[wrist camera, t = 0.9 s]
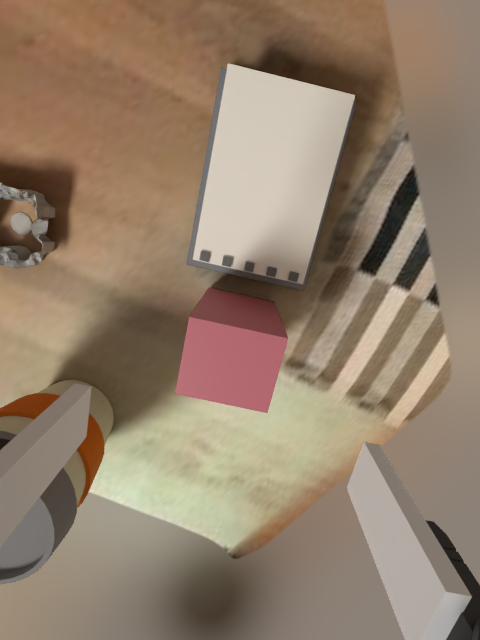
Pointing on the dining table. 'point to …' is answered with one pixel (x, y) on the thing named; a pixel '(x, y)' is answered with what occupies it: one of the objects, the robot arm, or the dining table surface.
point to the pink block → (232, 350)
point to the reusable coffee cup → (63, 492)
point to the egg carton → (27, 228)
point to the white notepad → (268, 175)
